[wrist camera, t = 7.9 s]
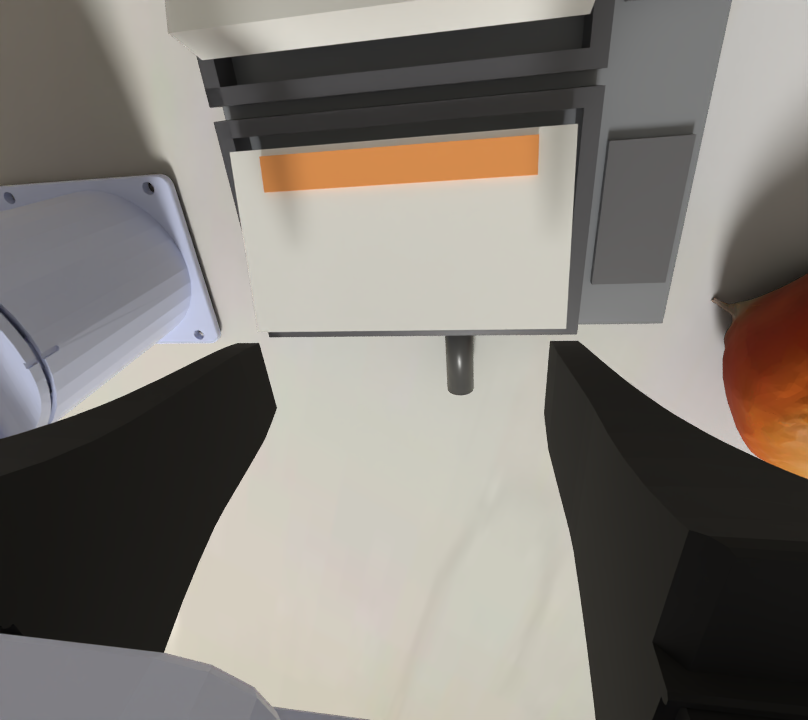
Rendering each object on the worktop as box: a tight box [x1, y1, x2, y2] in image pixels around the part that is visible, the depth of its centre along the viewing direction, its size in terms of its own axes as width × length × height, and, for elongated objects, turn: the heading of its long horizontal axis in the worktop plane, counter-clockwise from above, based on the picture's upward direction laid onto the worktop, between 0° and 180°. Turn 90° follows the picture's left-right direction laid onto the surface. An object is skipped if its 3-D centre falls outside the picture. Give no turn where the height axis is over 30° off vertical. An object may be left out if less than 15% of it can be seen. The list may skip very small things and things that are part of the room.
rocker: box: [230, 124, 578, 332], centre depth 15 cm, size 10×6×2 cm, turn 95°
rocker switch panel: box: [197, 0, 732, 395], centre depth 14 cm, size 15×28×4 cm, turn 5°
